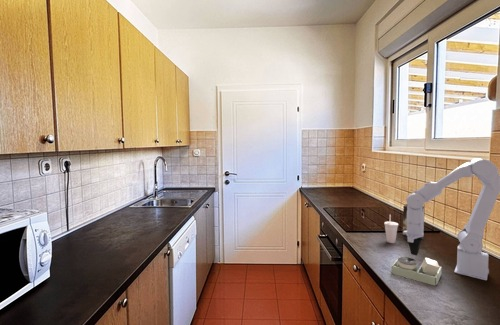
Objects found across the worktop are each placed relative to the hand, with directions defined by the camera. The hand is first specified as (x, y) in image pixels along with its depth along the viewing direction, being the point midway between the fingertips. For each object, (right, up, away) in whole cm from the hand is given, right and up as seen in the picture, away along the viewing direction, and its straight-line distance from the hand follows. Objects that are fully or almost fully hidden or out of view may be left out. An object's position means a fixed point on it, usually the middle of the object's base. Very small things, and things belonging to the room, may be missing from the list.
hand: (414, 254), depth 114 cm
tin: (-7, -5, -7) cm, 11 cm away
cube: (-2, -2, -11) cm, 12 cm away
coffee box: (+20, -1, +34) cm, 39 cm away
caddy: (-5, -5, -9) cm, 11 cm away
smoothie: (+3, -2, +25) cm, 25 cm away
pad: (-2, -5, -12) cm, 13 cm away
